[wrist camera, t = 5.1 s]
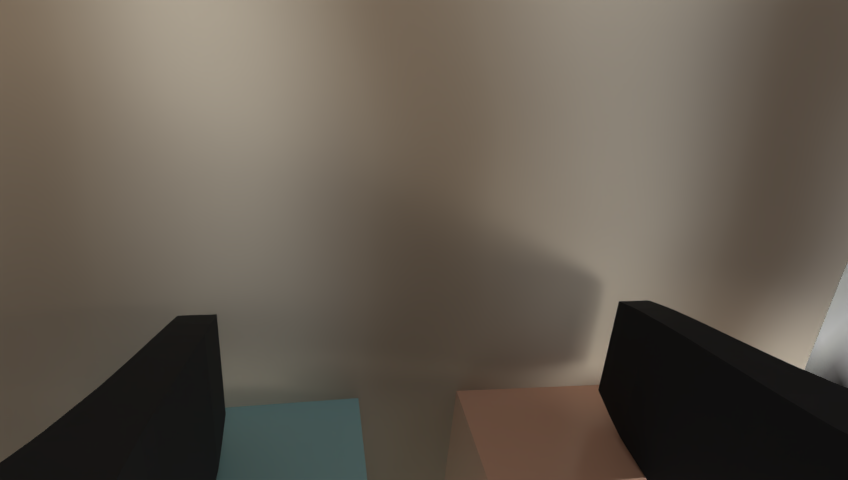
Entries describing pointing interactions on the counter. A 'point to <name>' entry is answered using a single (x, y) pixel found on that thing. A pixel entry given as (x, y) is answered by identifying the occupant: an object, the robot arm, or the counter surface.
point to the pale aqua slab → (293, 442)
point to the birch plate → (409, 193)
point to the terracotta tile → (536, 436)
